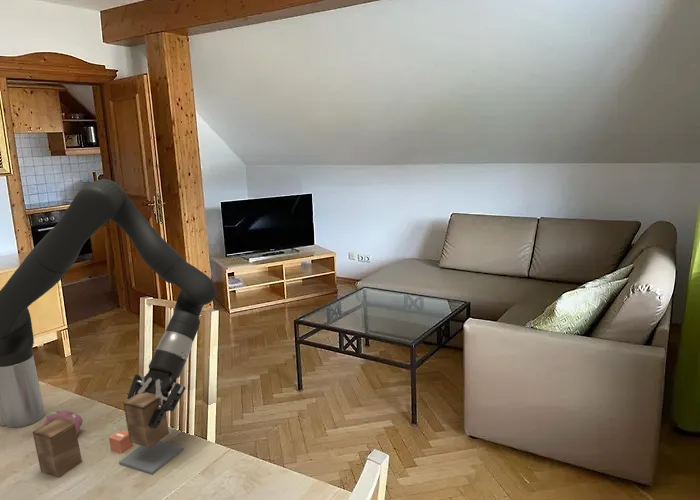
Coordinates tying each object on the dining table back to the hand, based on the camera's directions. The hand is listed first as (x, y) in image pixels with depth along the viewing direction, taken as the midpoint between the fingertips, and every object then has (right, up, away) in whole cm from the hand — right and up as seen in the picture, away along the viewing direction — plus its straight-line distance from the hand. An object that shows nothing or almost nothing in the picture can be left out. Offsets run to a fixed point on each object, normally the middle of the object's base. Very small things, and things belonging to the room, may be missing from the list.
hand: (141, 424), depth 124 cm
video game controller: (-25, -8, +14) cm, 30 cm away
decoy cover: (-19, -10, +2) cm, 21 cm away
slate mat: (+1, -9, +4) cm, 10 cm away
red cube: (-7, -8, +8) cm, 14 cm away
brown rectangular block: (+1, -4, +3) cm, 5 cm away
